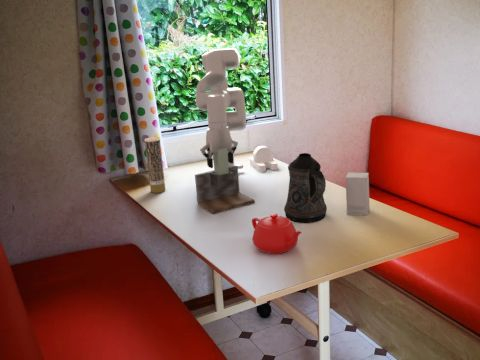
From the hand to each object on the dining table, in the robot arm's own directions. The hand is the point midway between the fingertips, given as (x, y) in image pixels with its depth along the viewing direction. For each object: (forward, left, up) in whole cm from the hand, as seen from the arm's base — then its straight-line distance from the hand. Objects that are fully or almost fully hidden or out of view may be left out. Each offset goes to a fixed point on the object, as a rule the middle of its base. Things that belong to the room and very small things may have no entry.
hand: (220, 165), depth 233 cm
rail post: (0, 0, -8) cm, 8 cm away
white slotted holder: (-42, -34, -17) cm, 57 cm away
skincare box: (-35, +45, -17) cm, 59 cm away
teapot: (+8, +52, -17) cm, 55 cm away
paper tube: (+16, -34, -17) cm, 41 cm away
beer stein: (-18, +36, -17) cm, 44 cm away
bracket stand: (0, +2, -17) cm, 17 cm away
